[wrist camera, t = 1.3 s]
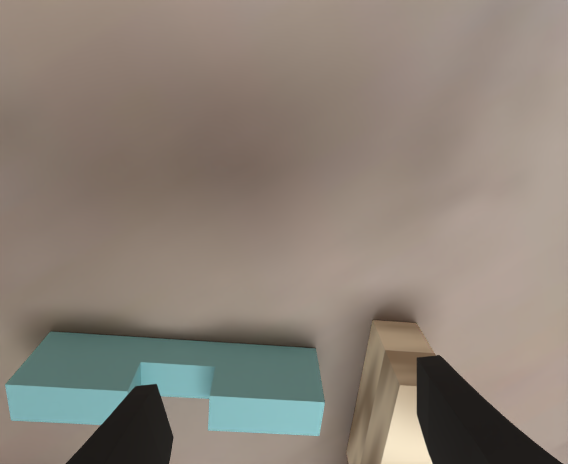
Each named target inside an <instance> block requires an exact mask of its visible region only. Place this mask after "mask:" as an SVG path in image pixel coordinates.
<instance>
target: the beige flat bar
mask: <svg viewBox="0 0 568 464" xmlns="http://www.w3.org/2000/svg"><path fill="white" fill-rule="evenodd" d="M427 356H436V355H435V353H434V352H433V350H432V348H431V347H430V345H429V343H428V342H427V340H426V338H425V336H424V335H423V333H422V331H421V330H420V328H419V326H418V325H417V323H409V322H395V321H380V320H372V325H371V330H370V335H369V340H368V345H367V351H366V356H365V361H364V366H363V371H362V376H361V381H360V386H359V391H358V396H357V401H356V406H355V411H354V416H353V421H352V426H351V431H350V436H349V441H348V446H347V451H346V454H347V459H348V464H433V463H432V461H431V458H430V456H429V453H428V450H427V447H426V444H425V441H424V437H423V434H422V431H421V427H420V424H419V420H418V417H417V357H427Z"/></svg>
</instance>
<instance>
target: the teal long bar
mask: <svg viewBox="0 0 568 464" xmlns="http://www.w3.org/2000/svg"><path fill="white" fill-rule="evenodd" d="M150 384H157V386H158V389H159V392H160V396H168V397H186V398H205V399H209V421H208V430H212V431H231V432H251V433H271V434H291V435H311V436H319V434H320V428H321V422H322V416H323V410H324V404H325V400H324V394H323V388H322V382H321V376H320V370H319V364H318V358H317V352H316V348H302V347H286V346H270V345H255V344H239V343H223V342H208V341H192V340H176V339H160V338H145V337H129V336H113V335H98V334H82V333H66V332H51V331H50V333H49V334H48V335H47V336H46V337H45V338H44V340H43V341H42V342H41V343H40V344H39V346H38V347H37V348H36V349H35V350H34V351H33V353H32V354H31V355H30V356H29V357H28V358H27V360H26V361H25V362H24V363H23V364H22V365H21V367H20V368H19V369H18V370H17V371H16V372H15V374H14V375H13V376H12V377H11V378H10V379H9V381H8V382H7V383H6V384H5V387H6V393H7V399H8V405H9V411H10V417H11V420H13V421H33V422H53V423H73V424H92V425H102V424H103V422H104V421H105V420H106V419H107V418H108V417H109V416H110V414H111V413H112V412H113V411H114V410H115V409H116V408H117V406H118V405H119V404H120V403H121V402H122V401H123V399H124V398H125V397H126V396H127V395H128V394H129V393H130V392H131V390H132V389H133V388H134V387H135V386H140V385H150Z"/></svg>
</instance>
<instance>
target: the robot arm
mask: <svg viewBox="0 0 568 464" xmlns="http://www.w3.org/2000/svg"><path fill="white" fill-rule="evenodd" d="M417 417H418V420H419V424H420V427H421V431H422V434H423V437H424V441H425V444H426V447H427V450H428V453H429V456H430V458H431V461H432V463H433V464H562V463H561V462H560V461H558V460H557V459H556V458H554V457H553V456H552V455H550V454H549V453H548V452H546V451H545V450H544V449H543V448H541V447H540V446H539V445H538V444H536V443H535V442H534V441H533V440H531V439H530V438H529V437H528V436H527V435H525V434H524V433H523V432H522V431H520V430H519V429H518V428H517V427H516V426H515V425H513V424H512V423H511V422H510V421H509V420H508V419H506V418H505V417H504V416H503V415H502V414H501V413H500V412H499V411H497V410H496V409H495V408H494V407H493V406H492V405H491V404H490V403H489V402H487V401H486V400H485V399H484V398H483V397H482V396H481V395H480V394H479V393H478V392H477V391H476V390H475V389H474V388H473V387H472V386H470V385H469V384H468V383H467V382H466V381H465V380H464V379H463V378H462V377H461V376H460V375H459V374H458V373H457V372H456V371H455V370H454V369H453V368H452V367H451V366H450V365H449V364H448V363H447V362H446V361H445V360H444V359H443V358H442V357H441V356H440V355H437V356H427V357H417ZM172 443H173V434H172V431H171V428H170V425H169V421H168V418H167V415H166V412H165V409H164V405H163V402H162V399H161V396H160V392H159V389H158V386H157V384H150V385H140V386H135V387H134V388H133V389H132V390H131V392H130V393H129V394H128V395H127V396H126V397H125V398H124V399H123V401H122V402H121V403H120V404H119V405H118V406H117V408H116V409H115V410H114V411H113V412H112V413H111V414H110V416H109V417H108V418H107V419H106V420H105V421H104V422H103V424H102V425H101V426H100V427H99V428H98V429H97V430H96V431H95V433H94V434H93V435H92V436H91V437H90V438H89V439H88V440H87V441H86V443H85V444H84V445H83V446H82V447H81V448H80V449H79V450H78V451H77V452H76V453H75V454H74V455H73V457H72V458H71V459H70V460H69V461H68V462H67V463H66V464H169V461H170V456H171V449H172Z"/></svg>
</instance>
